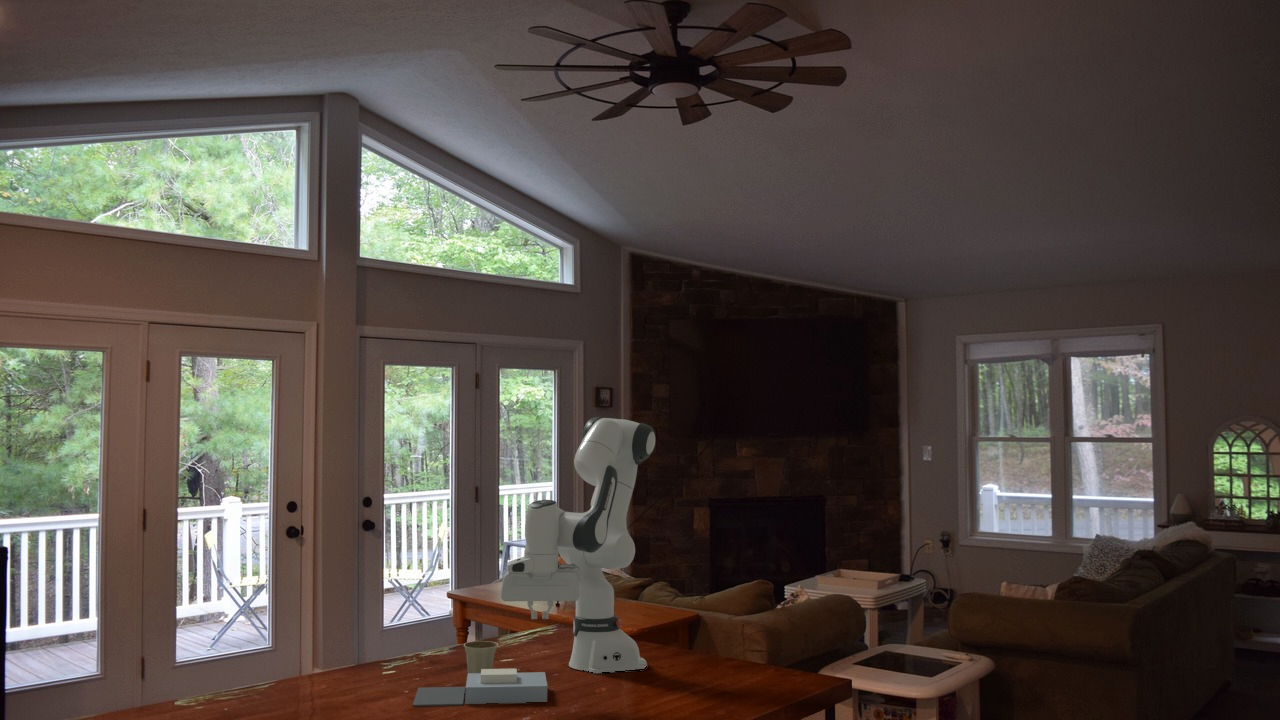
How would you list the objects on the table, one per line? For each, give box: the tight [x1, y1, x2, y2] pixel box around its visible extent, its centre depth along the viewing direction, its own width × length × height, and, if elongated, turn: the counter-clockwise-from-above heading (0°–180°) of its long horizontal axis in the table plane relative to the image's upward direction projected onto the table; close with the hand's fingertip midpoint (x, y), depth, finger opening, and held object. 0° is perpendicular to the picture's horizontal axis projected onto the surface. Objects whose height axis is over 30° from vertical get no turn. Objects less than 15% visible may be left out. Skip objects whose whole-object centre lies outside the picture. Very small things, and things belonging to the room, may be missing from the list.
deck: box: [464, 671, 548, 705], centre depth 245 cm, size 20×14×4 cm
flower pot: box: [463, 640, 499, 674], centre depth 264 cm, size 9×9×9 cm
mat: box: [412, 686, 466, 707], centre depth 243 cm, size 12×16×1 cm
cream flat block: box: [480, 668, 518, 683], centre depth 245 cm, size 9×6×2 cm, turn 98°
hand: (539, 618), depth 248 cm, fingers closed
